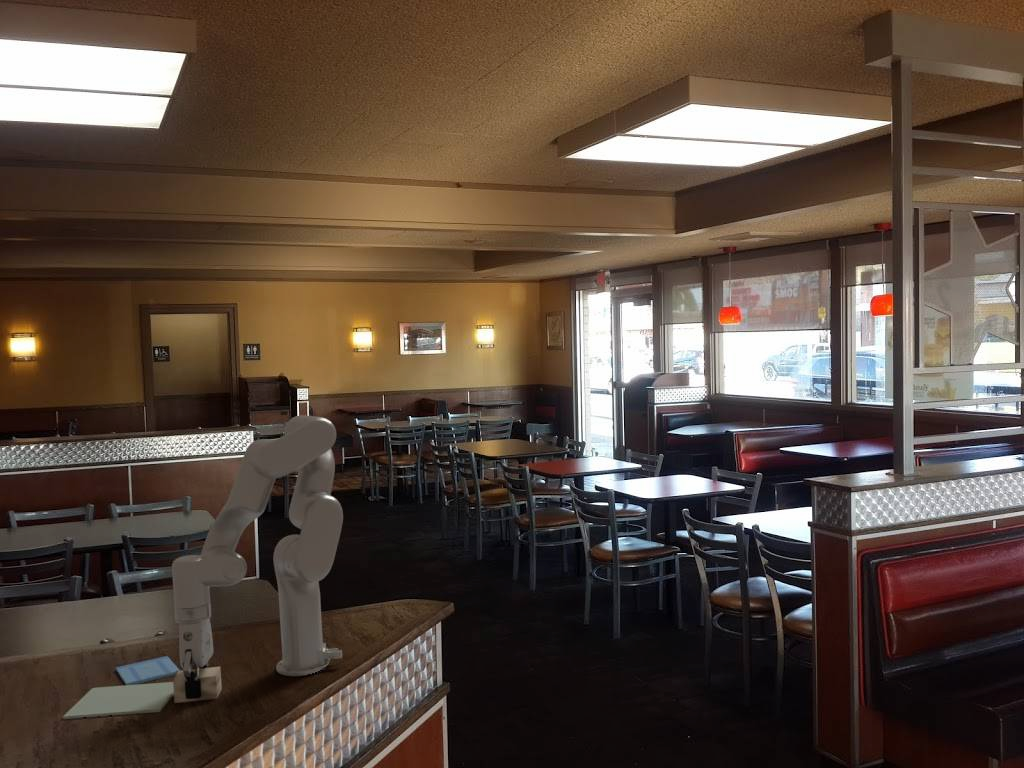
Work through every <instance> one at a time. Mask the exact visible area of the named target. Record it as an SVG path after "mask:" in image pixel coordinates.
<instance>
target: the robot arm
mask: <svg viewBox="0 0 1024 768" xmlns="http://www.w3.org/2000/svg"><path fill="white" fill-rule="evenodd" d="M336 439H337V429H336V427H335V425H334V424H333V423H332V421H331V420H329V419H328V418H325V417H321V416H315V415H306V414H304V415H296V416H294V417H292V418H290V420H288V421H287V423H286V425H285V427H284V434H283V436H281V437H279V438H276V439H270V438H269V439H268V438H267V439H266V438H262V439H257V440H254V441H252V442H251V443H249V445H248V446H247V448H246V450H245V452H244V455H243V458H242V461H241V463H240V466H239V469H238V471H237V473H236V477H235V480H234V483H233V486H232V488H231V490H230V494H229V495H228V499H227V501H226V502H225V504H224V505H223V506H222V508H221V510H220V511H219V513H218V515H217V516H216V518H215V519H214V521H213V522H212V524H211V526H210V528H209V530H208V533H207V536H206V538H205V541H204V543H203V547H202V550H201V552H200V554H192V555H189V554H188V555H183V556H180V557H177V558H175V559H174V560H173V561H172V564H171V575H172V587H173V588H172V589H173V590H172V591H173V603H174V604H173V606H174V619H175V622H176V623H177V624H179V625H178V626H179V627H178V634H179V635H178V638H179V639H178V640H179V641H178V642H179V645H178V646H179V649H178V650H179V659H180V660H179V661H180V662H179V663H180V667H181V668H182V670H183V673H184V676H185V677H184V681H185V693H186V699H196V698H200V697H201V681H200V679H199V669H201V668H209V666H210V663H209V661H210V660H211V658H212V656H213V655H214V651H215V650H214V642H213V632H212V625H211V618H212V609H211V608H212V607H211V592H210V588H211V587H229V586H234V585H237V584H238V583H240V582H241V581H242V580H244V578H245V577H246V575H247V571H248V566H247V565H248V564H247V562H246V560H245V558H244V557H243V556H242V555H240V553H238V552H236V548H237V546H238V543H239V540H240V538H241V536H242V534H243V533H244V530H245V529H246V528H247V526H249V524H250V523H252V522H253V521H255V520H256V519H258V518H259V517H260V516H261V515H262V514H264V512H265V510H266V508H267V505H268V502H269V499H270V496H271V493H272V491H273V487H274V485H275V482H276V479H279V478H283V477H286V476H288V475H290V474H292V473H294V472H296V471H297V477H296V482H295V484H294V485H295V486H294V489H293V493H292V497H291V500H290V504H289V508H288V518H289V521H290V523H291V524H292V525H293V526H295V527H296V528H298V529H300V534H290V535H287V536H284V537H283V538H281V539H280V540H279V541H278V543H277V545H276V546H275V547H274V552H273V559H272V560H273V567H274V573H275V577H276V581H277V582H276V583H277V590H278V603H279V604H278V605H279V608H278V609H279V620H280V621H279V622H280V637H281V638H280V639H281V655H282V659H281V660H280V661H279V662H277V663H276V665H275V666H276V672H277V673H278V674H280V675H283V676H285V677H286V676H288V677H302V676H309V675H308V674H310V675H313V674H312V673H314V674H316V673H315V672H317V673H319V672H318V671H320V670H322V669H323V668H324V667H326V666H327V665H328V664H329V662H330V660H331V659H334V660H337V659H338V660H339V659H343V649H340V650H339V648H338V647H335V648H329V647H327V644H326V642H324V641H323V623H322V622H323V621H322V609H321V608H322V607H321V606H322V605H321V591H320V583H319V582H320V581H322V580H323V579H325V578H326V576H328V574H330V571H331V569H332V568H333V567H332V566H333V564H334V561H335V557H336V554H337V548H338V545H339V541H340V537H341V533H342V528H343V527H342V526H343V522H344V513H343V512H344V511H343V508H342V506H341V503H340V502H339V500H338V499H337V498H335V496H332V495H331V494H332V488H333V484H334V479H335V478H334V477H335V470H336V469H335V468H336V464H335V463H336V461H335V457H334V455H335V454H334V453H333V449H332V448H333V446H334V445H335V443H336V441H337V440H336ZM192 664H193V665H192ZM192 669H195V673H194V672H193V671H191V670H192ZM320 672H321V671H320Z"/></svg>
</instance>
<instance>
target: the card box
mask: <svg viewBox="0 0 1024 768" xmlns="http://www.w3.org/2000/svg"><path fill="white" fill-rule="evenodd" d="M191 671H193V672H194V673H195V669H191ZM184 677H185V676H184V673H183V669H182V670H180V671H178V673H177V674H176V675H174V678H173V679H172V682H173V688H174V695H173V697H174V699H173V700H174V704H177V703H189V702H197V701H198V702H199V701H205V700H214V699H216V700H217V699H218V698H219V696H220V693H221V691H222V688H223V687H222V685H223V684H222V671H221V666H212V667H207V668H201V669H199V679H200V681H201V697H200V698H196V699H186V693H185V681H184Z"/></svg>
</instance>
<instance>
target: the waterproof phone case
mask: <svg viewBox="0 0 1024 768" xmlns="http://www.w3.org/2000/svg"><path fill="white" fill-rule="evenodd" d="M116 670H117V671H116ZM115 671H116V672H118V673H119V674H118V673H117V674H118V676H119V675H120V676H119V677H120V678H122V679H121V680H122V681H124V682H123V683H124V684H126V685H138V684H144V683H148V682H152V681H156V680H160V679H165V678H168V677H173V676H176V675H177V673H178V671H181V669H179V668H178V666H177V665H176V664H175V663H174V662H173V661H172V660H171V658H170V657H169V656H168V655H165V656H161V657H157V658H152V659H148V660H142V661H139V662H134V663H133V662H132V663H131V664H125V665H122V666H116V667H115Z"/></svg>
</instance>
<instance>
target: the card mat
mask: <svg viewBox="0 0 1024 768" xmlns="http://www.w3.org/2000/svg"><path fill="white" fill-rule="evenodd" d="M172 697H174V688H173V681H168V682H155V683H139V684H135V685H114V686H100V687H92V688H91V689H90V690H89V691H88V692H86V693H85V695H83V696H82V698H81V699H79V700H78V701H77V702H76V703H75V705H73V706H72V707H71V708H70V709H69V710H68V711H67V712H66V713H65V714H64V715H63V716H62V719H63V720H72V719H84V718H83V717H87V718H97V717H98V716H100V717H110V716H109V715H112V716H125V715H135V714H136V715H138V714H149V713H150V714H151V713H160V712H161V711H162V710H163V708H165V706H166V705H167V703H168V702H169V701H170V700H171V699H172ZM137 713H138V714H137ZM98 718H99V717H98Z"/></svg>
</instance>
